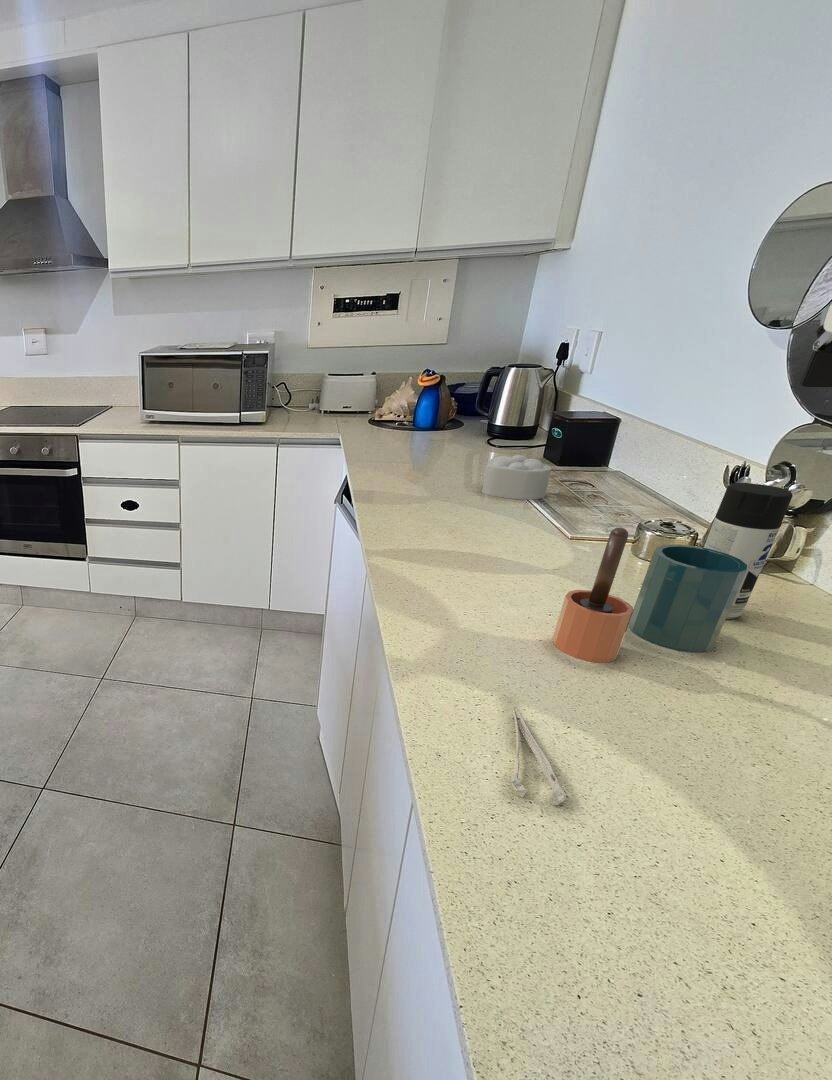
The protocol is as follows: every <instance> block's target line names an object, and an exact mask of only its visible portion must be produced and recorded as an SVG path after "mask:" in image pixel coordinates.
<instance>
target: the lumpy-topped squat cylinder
mask: <svg viewBox="0 0 832 1080" xmlns="http://www.w3.org/2000/svg"><path fill="white" fill-rule="evenodd" d="M552 471H553V469H552V467H551V466H549V465H548V464H544V463H543V462H542V461H541V460H540V459H537V458H528V457H526V456H524V455H522V454H515V455H513V456H508V455H498V456H496V457H493V458H489V460H488V462H487V465H486V470H485V475H484V480H483V484H482V488H481V493H482V494H483V495H487V496H492V497H496V498H497V497H498V498H504V499H512V500H523V501H525V500H530V501H531V500H539V499H540V500H541V499H544V498H545V497H546V494H547V490H548V485H549V481H550V477H551V474H552Z"/></svg>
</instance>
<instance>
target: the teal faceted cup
mask: <svg viewBox="0 0 832 1080" xmlns="http://www.w3.org/2000/svg"><path fill="white" fill-rule="evenodd" d="M746 571H747V564H745V563H744V562H743V561H742V560H740V559H738V558H736V557H734V556H731V555H729V554H726V553H722V552H719V551H715V550H712V549H708V548H704V547H703V546H698V545H697V546H696V545H690V544H689V545H688V544H679V543H678V544H673V543H672V544H661V545H658V546H655V548H654V551H653V554H652V556H651V558H650V561H649V564H648V567H647V570H646V573H645V575H644V578H643V581H642V583H641V586H640V590H639V593H638V595H637V597H636V601H635V604H634V606H633V609H634V611H633V614H632V616H631V619H630V622H629V625H628V629H629V630H630V631H631V633H633V634H634V635H635V636H636V637H638V638H640V639H642V640H643V641H645V642H648V643H650V644H653V645H656V646H659V647H662V648H664V649H667V650H668V649H669V650H672V651H677V652H683V653H694V654H699V653H706V652H710V651H711V650H713V648H714V647H715V645H716V643H717V640H718V638H719V636H720V633H721V631H722V629H723V626H724V624H725V621H726V620H727V619H726V617H727V615H728V613H729V610H730V608H731V606H732V603H733V601H734V599H735V597H736V594H737V592H738V590H739V587H740V585H741V583H742V580H743V578H744V576H745V574H746Z"/></svg>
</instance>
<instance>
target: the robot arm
mask: <svg viewBox="0 0 832 1080" xmlns="http://www.w3.org/2000/svg"><path fill="white" fill-rule="evenodd" d="M819 321H820V323H819V327H818V328H817V330H816V331H815V332H816V337H817V339H816V340H815V341H814V343H813V345H812V350H813V351H812V354H811V355H810V359H809V361H808V363H807V366H806V368H805V369H804V373H803V375H802V377H801V379H800V383H799V385H800V387H801V386H802V387H804V388H832V302H831V303H830V305H828V306H827V307H825V308H824V309H823V310H822V312H821V313H820V320H819Z"/></svg>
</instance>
